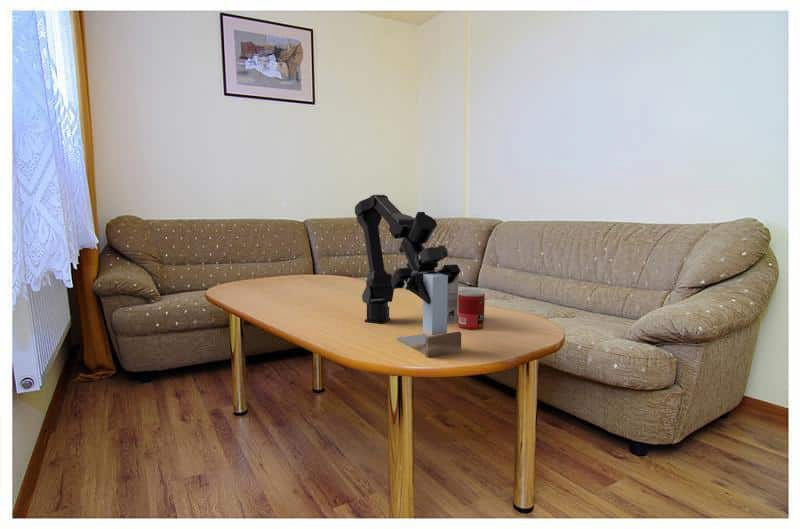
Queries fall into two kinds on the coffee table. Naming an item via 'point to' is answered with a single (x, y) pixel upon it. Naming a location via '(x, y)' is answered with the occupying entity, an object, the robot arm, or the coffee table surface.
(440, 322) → the block
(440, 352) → the brown slab
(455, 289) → the coffee box
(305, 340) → the coffee table surface
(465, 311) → the canned food
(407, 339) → the pad
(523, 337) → the coffee table surface
